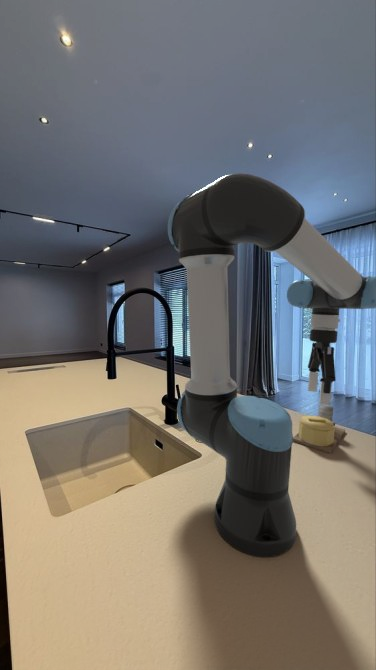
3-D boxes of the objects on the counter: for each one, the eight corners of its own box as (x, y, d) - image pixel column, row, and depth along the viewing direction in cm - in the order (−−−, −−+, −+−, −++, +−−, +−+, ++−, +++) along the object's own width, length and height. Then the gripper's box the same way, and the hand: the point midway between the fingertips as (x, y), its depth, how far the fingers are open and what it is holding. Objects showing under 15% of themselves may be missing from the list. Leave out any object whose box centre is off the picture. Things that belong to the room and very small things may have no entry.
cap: (303, 443, 85) (304, 423, 85) (296, 430, 95) (298, 412, 94) (336, 446, 84) (338, 426, 83) (326, 433, 93) (328, 415, 92)
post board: (330, 453, 82) (332, 423, 81) (292, 441, 89) (294, 413, 88) (345, 432, 97) (347, 406, 97) (311, 423, 104) (313, 399, 104)
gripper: (353, 332, 73) (345, 411, 75) (324, 328, 98) (319, 388, 99) (322, 330, 75) (316, 408, 76) (301, 326, 99) (297, 386, 101)
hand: (317, 397), depth 88 cm, fingers open, 13 cm apart
